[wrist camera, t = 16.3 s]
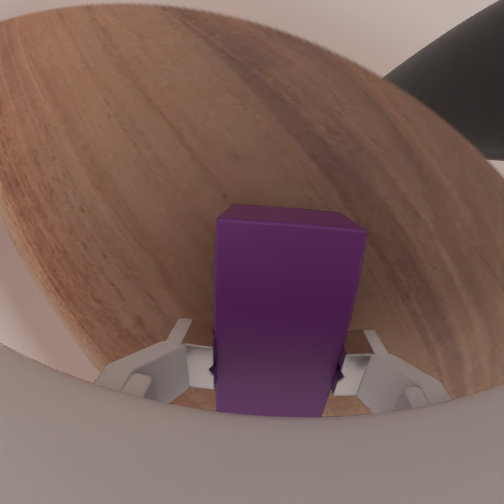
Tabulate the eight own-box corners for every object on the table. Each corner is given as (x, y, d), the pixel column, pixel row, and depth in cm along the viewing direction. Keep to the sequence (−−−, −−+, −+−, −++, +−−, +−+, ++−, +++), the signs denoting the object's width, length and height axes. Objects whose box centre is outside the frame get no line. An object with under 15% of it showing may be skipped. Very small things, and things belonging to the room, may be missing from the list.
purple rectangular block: (230, 203, 10) (215, 217, 7) (341, 212, 10) (368, 230, 7) (226, 391, 12) (217, 437, 10) (306, 395, 12) (311, 442, 9)
